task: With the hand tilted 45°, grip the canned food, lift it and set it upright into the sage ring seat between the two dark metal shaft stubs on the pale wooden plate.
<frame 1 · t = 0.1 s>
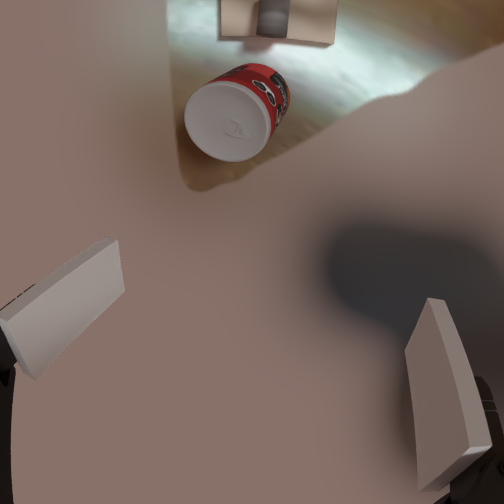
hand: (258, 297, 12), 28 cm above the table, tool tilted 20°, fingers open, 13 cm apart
canned food: (258, 92, 33), on the table
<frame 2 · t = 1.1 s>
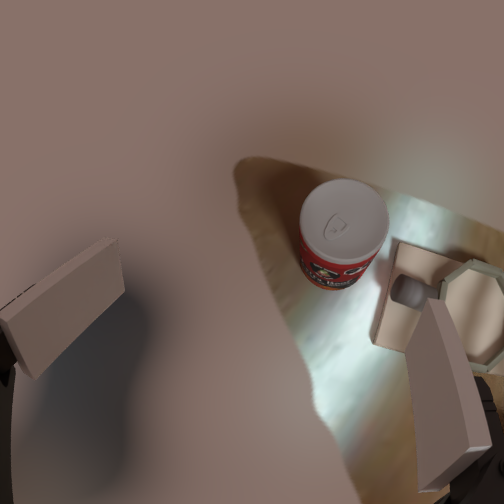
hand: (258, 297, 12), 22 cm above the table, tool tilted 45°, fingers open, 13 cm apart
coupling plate: (471, 318, 30), on the table
canned food: (333, 259, 35), on the table
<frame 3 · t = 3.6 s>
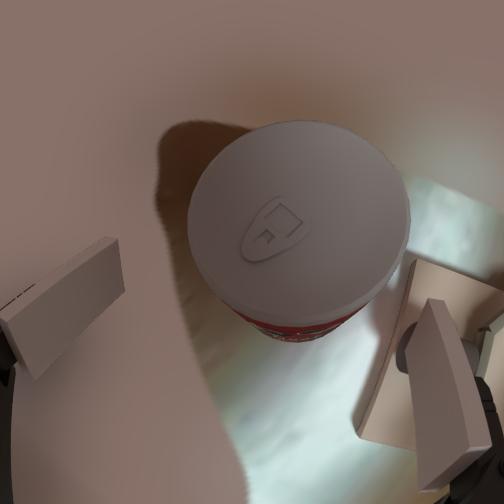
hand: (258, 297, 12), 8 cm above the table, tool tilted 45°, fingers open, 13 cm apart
canned food: (298, 284, 21), on the table
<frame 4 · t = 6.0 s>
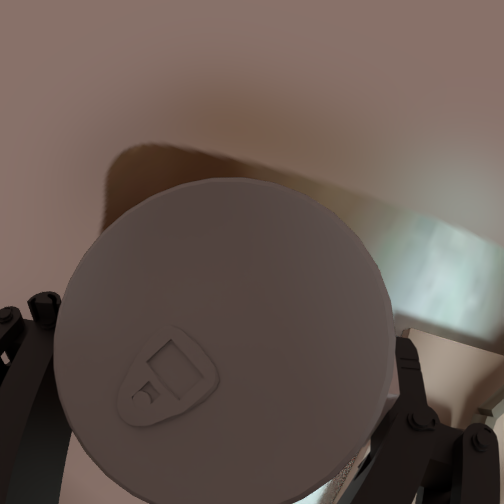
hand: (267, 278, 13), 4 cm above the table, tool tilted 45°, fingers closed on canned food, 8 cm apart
canned food: (259, 357, 16), on the table, touching gripper
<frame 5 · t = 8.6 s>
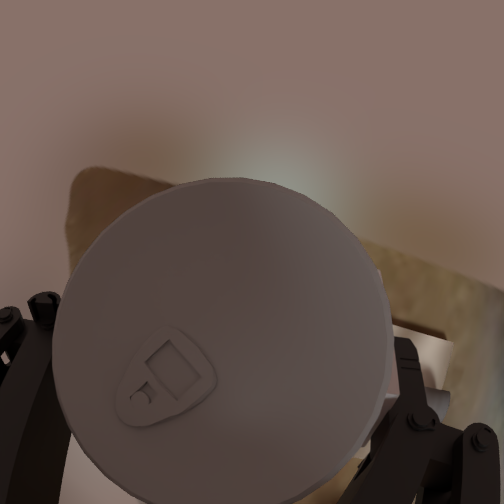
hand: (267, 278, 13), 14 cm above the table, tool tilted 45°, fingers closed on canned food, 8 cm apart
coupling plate: (312, 374, 25), on the table
canned food: (258, 357, 16), point 10 cm above the table, touching gripper
when the fingers open (6 cm above the table, at t = 11.3 s): canned food drops 1 cm, resting on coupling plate.
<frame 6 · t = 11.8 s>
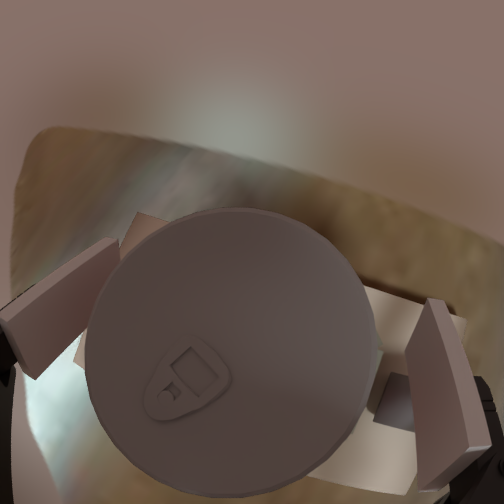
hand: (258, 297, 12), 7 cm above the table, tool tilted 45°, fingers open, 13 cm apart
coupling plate: (263, 357, 18), on the table
canned food: (261, 358, 17), point 1 cm above the table, touching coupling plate
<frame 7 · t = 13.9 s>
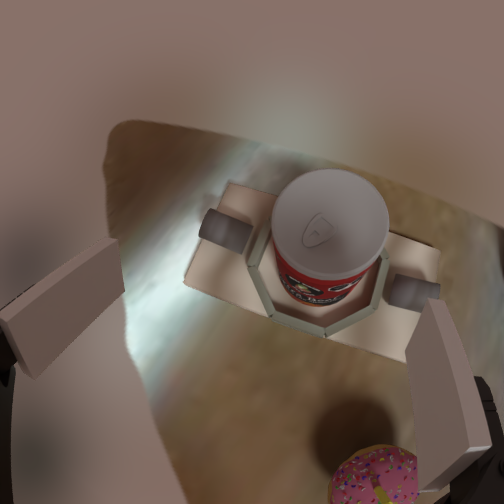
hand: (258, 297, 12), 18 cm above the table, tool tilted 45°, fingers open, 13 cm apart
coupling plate: (318, 271, 31), on the table
cupcake: (365, 471, 23), on the table
canned food: (319, 268, 30), point 1 cm above the table, touching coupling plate
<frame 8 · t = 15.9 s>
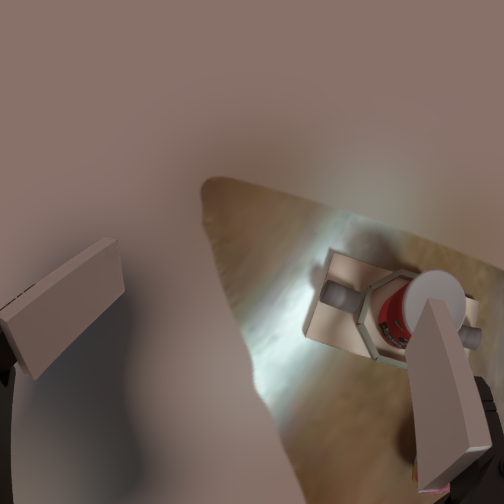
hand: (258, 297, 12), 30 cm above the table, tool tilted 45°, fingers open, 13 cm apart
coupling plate: (400, 321, 38), on the table
cupcake: (429, 457, 31), on the table
canned food: (402, 320, 37), point 1 cm above the table, touching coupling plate
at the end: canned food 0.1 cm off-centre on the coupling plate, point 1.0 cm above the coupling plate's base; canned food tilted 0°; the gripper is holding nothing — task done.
